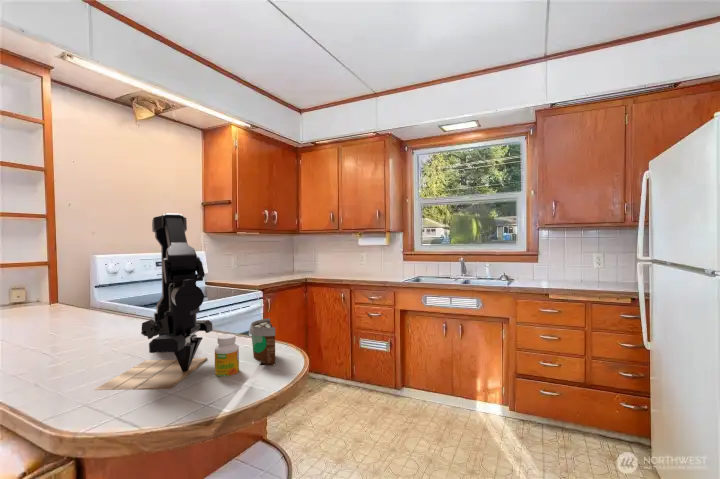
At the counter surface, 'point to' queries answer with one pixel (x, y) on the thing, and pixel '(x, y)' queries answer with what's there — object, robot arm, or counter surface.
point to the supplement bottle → (226, 356)
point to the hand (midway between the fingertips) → (185, 371)
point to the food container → (263, 341)
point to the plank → (169, 375)
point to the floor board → (135, 375)
